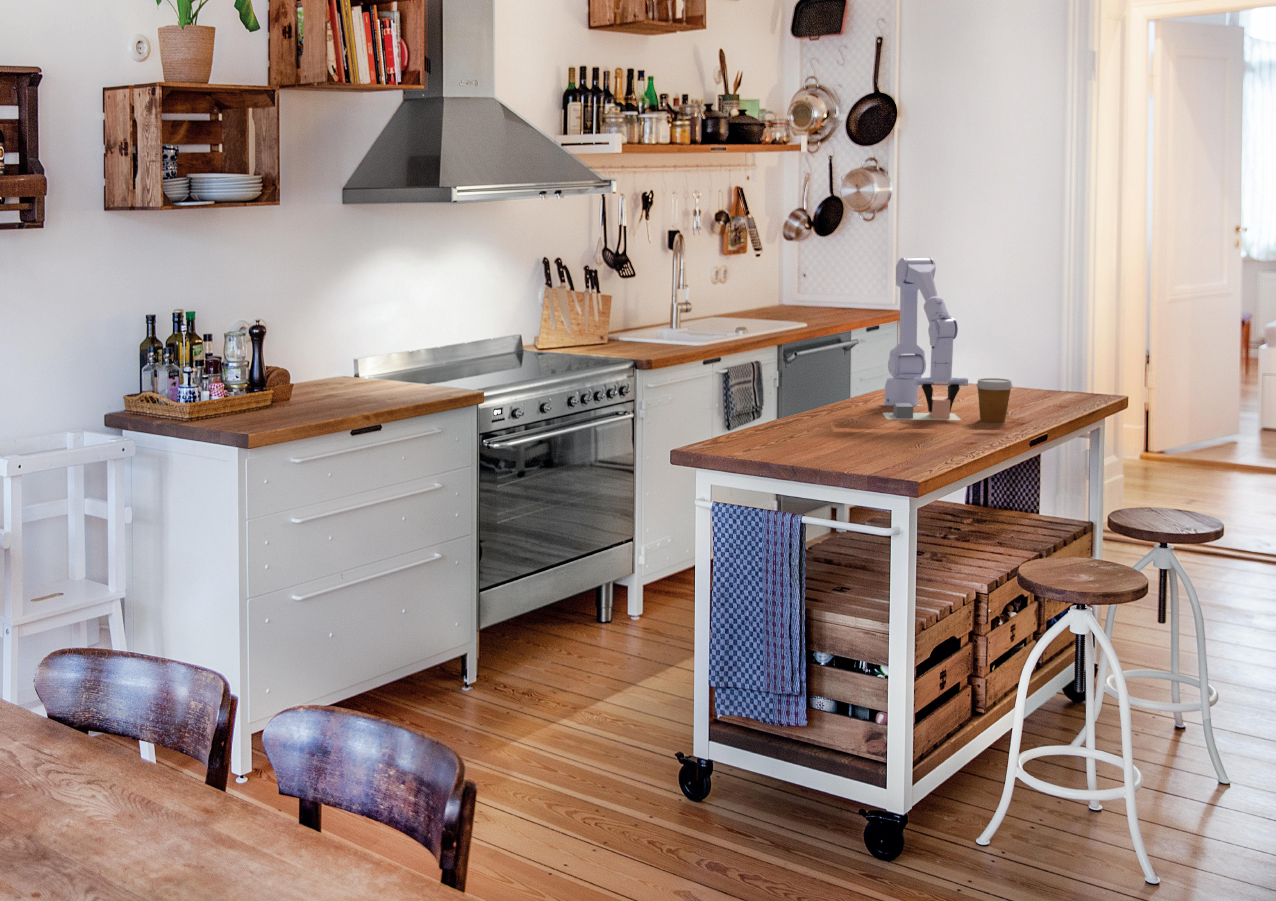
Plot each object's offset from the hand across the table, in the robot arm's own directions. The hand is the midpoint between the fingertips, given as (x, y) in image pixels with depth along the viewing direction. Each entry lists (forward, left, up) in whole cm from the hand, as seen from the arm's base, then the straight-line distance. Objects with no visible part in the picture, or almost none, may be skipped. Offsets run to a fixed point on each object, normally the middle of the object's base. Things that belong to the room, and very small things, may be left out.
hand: (939, 411), depth 347 cm
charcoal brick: (-7, -7, -1) cm, 10 cm away
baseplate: (-3, -3, -2) cm, 5 cm away
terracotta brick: (0, 0, -1) cm, 1 cm away
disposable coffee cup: (+14, +6, -3) cm, 15 cm away
